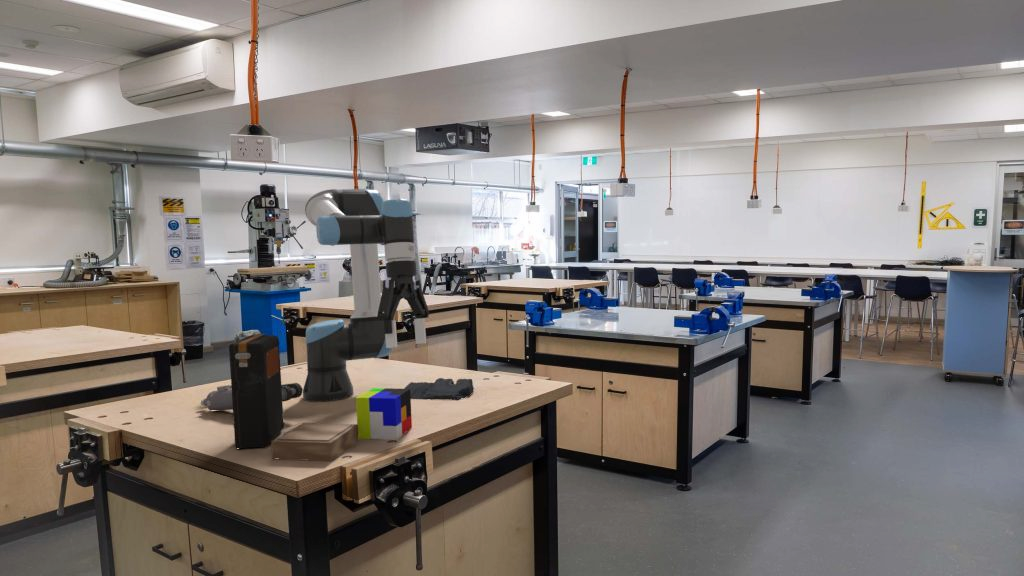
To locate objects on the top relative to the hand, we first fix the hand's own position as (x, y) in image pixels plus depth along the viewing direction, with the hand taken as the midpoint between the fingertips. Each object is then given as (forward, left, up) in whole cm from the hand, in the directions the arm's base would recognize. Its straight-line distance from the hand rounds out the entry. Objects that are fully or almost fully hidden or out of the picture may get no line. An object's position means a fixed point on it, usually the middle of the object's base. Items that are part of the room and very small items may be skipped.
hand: (407, 345), depth 159 cm
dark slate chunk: (-37, -4, -22) cm, 43 cm away
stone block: (-40, -68, -21) cm, 82 cm away
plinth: (+18, -16, -21) cm, 32 cm away
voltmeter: (+12, -34, -21) cm, 42 cm away
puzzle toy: (+4, -5, -21) cm, 22 cm away
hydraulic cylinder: (-10, -51, -21) cm, 56 cm away
